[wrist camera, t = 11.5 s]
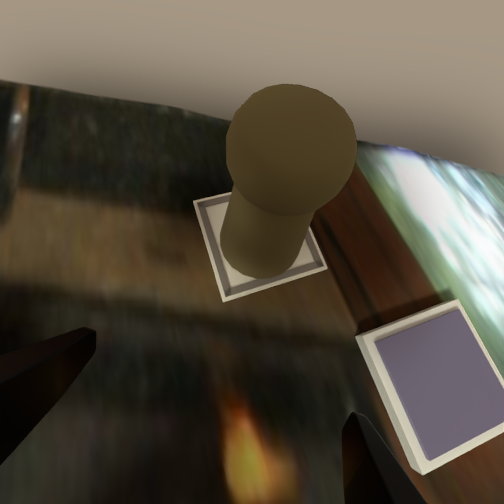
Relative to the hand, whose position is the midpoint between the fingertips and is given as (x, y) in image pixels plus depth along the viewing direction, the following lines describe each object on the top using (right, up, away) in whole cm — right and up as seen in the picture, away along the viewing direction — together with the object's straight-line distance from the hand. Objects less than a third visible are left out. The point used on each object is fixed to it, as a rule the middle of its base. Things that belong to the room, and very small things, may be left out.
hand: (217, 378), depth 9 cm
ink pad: (+13, -4, +9) cm, 17 cm away
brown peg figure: (+2, +5, +11) cm, 12 cm away
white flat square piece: (+2, +5, +11) cm, 12 cm away
